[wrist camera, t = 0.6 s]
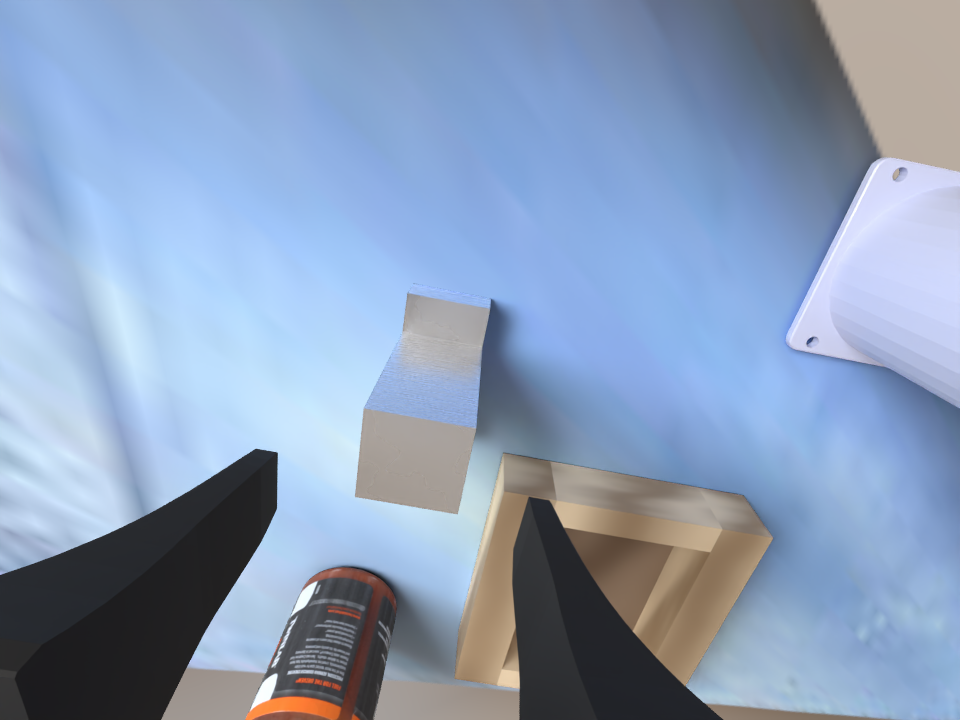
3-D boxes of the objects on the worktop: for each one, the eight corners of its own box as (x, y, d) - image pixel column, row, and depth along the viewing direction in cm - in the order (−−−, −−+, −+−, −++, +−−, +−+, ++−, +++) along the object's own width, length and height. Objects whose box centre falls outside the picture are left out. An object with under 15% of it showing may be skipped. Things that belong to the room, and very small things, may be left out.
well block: (743, 495, 25) (773, 538, 22) (654, 661, 31) (669, 711, 28) (503, 452, 25) (504, 491, 22) (458, 630, 30) (454, 678, 28)
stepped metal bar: (490, 298, 21) (487, 379, 14) (463, 428, 24) (449, 551, 17) (413, 283, 21) (369, 357, 14) (395, 416, 24) (351, 535, 17)
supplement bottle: (286, 571, 29) (168, 810, 18) (377, 552, 28) (307, 792, 18) (327, 636, 31) (243, 879, 21) (413, 620, 30) (368, 867, 20)
